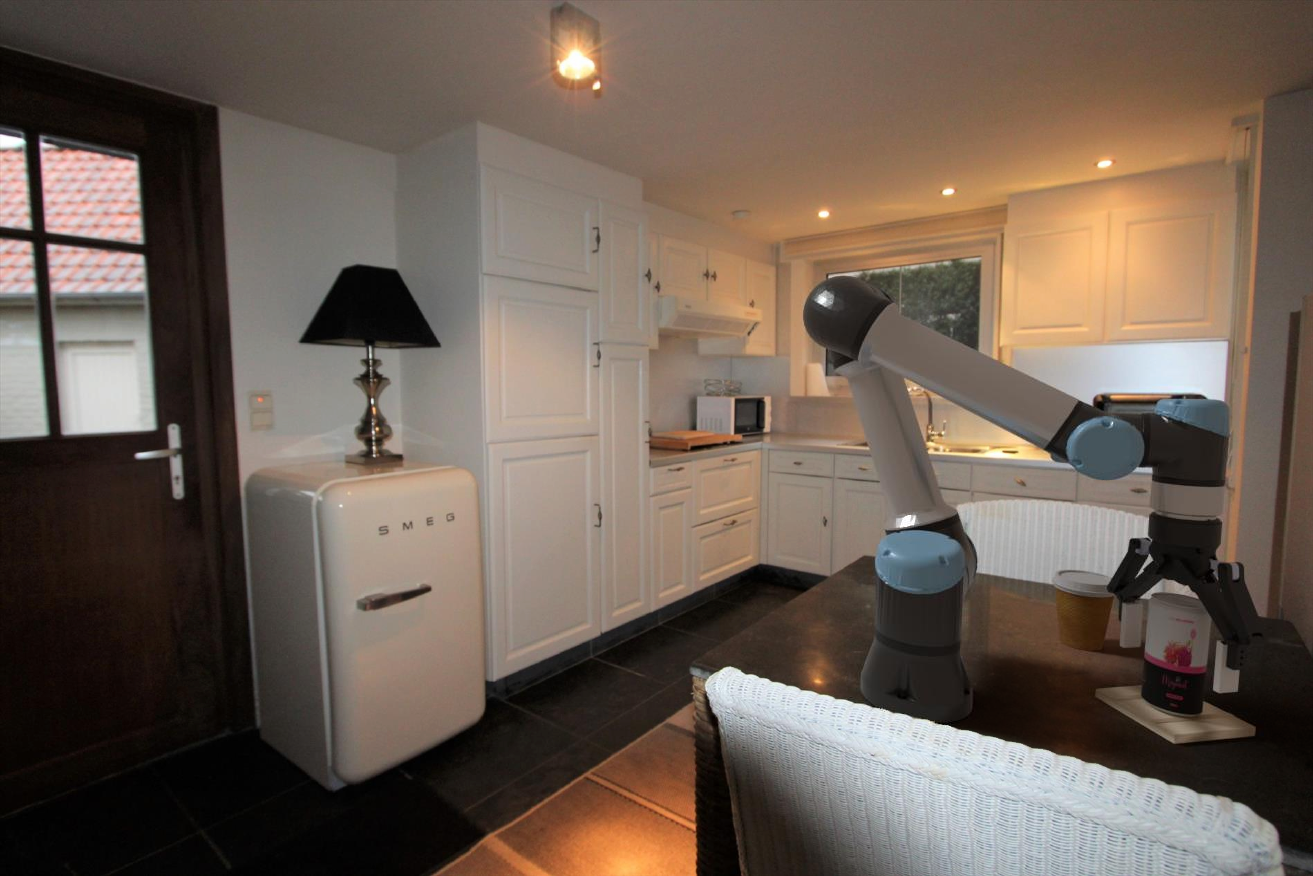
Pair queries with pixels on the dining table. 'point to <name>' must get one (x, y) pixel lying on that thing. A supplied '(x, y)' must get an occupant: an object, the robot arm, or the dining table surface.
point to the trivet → (1175, 718)
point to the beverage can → (1176, 654)
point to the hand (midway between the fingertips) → (1173, 667)
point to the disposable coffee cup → (1082, 608)
